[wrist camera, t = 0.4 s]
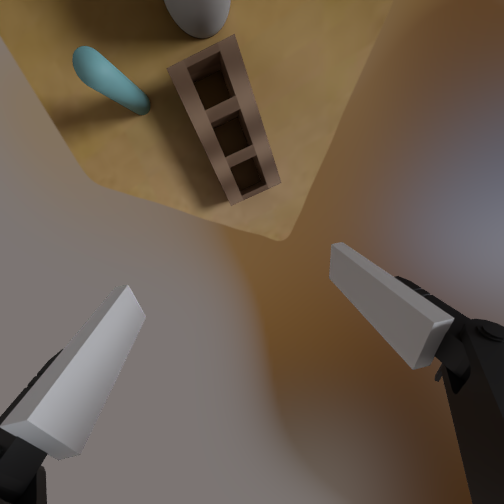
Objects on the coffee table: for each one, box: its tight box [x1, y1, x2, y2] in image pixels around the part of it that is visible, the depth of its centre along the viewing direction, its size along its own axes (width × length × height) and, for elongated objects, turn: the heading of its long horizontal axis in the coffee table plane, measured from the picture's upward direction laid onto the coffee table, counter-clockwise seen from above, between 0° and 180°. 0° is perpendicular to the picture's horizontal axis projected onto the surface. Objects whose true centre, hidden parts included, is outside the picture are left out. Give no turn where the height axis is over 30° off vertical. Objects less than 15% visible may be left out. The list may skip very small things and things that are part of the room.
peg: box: [73, 46, 150, 115], centre depth 22 cm, size 3×3×11 cm
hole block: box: [167, 34, 281, 206], centre depth 28 cm, size 18×9×5 cm, turn 23°
